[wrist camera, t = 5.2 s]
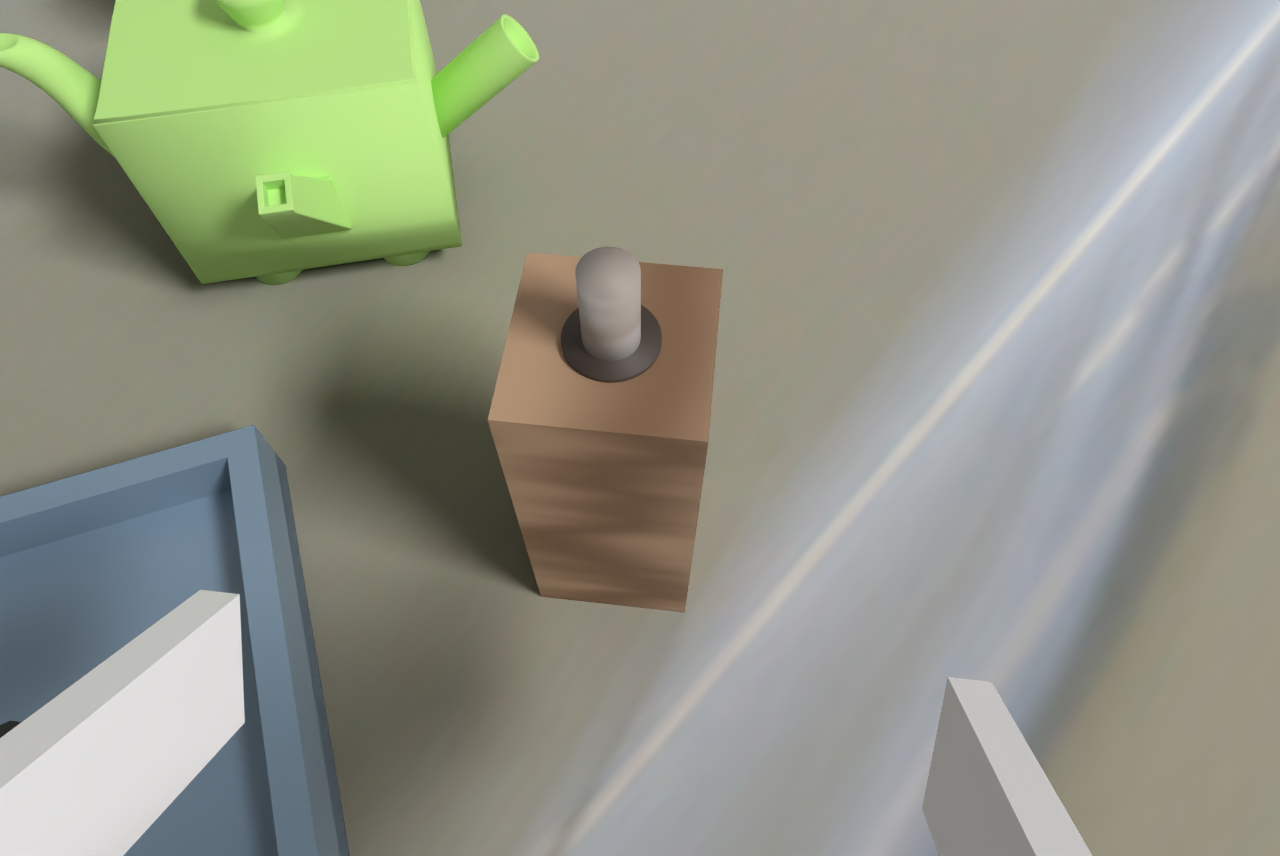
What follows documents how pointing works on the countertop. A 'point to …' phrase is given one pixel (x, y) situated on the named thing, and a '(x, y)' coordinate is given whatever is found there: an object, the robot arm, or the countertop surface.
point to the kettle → (282, 125)
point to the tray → (150, 589)
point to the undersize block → (608, 422)
